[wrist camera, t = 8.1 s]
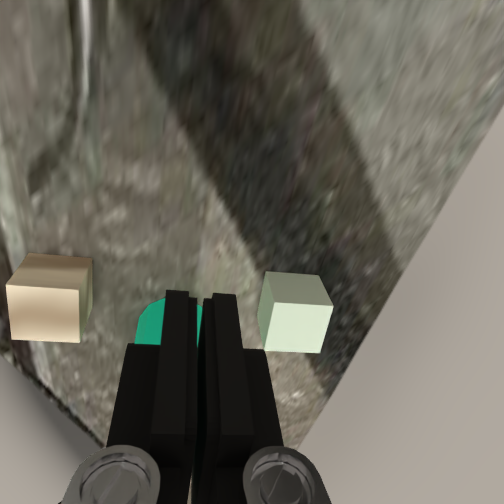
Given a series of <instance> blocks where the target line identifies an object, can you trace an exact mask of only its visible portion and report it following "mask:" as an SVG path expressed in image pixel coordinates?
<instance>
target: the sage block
mask: <svg viewBox="0 0 504 504" xmlns="http://www.w3.org/2000/svg"><path fill="white" fill-rule="evenodd" d="M332 310H333V304H332V302H331V300H330V298H329V296H328V294H327V292H326V290H325V288H324V286H323V284H322V282H321V279H320V277H319V275H308V274H295V273H282V272H269V271H266V272H265V277H264V283H263V288H262V293H261V298H260V303H259V308H258V313H257V319H258V324H259V329H260V333H261V338H262V343H263V348H264V351H285V352H308V353H320V350H321V347H322V344H323V340H324V337H325V333H326V330H327V327H328V323H329V320H330V316H331V313H332Z"/></svg>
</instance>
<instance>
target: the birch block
mask: <svg viewBox="0 0 504 504" xmlns="http://www.w3.org/2000/svg"><path fill="white" fill-rule="evenodd" d="M6 291H7V300H8V309H9V318H10V327H11V336H12V339H16V340H36V341H55V342H75V343H80V340H81V338H82V335H83V332H84V329H85V326H86V324H87V321H88V318H89V315H90V313H91V310H92V307H93V287H92V258H84V257H72V256H60V255H48V254H37V253H28V255H27V256H26V257H25V259H24V260H23V262H22V263H21V264H20V266H19V267H18V269H17V270H16V271H15V273H14V274H13V276H12V277H11V278H10V280H9V281H8V282H7V284H6Z"/></svg>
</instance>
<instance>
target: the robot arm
mask: <svg viewBox="0 0 504 504" xmlns="http://www.w3.org/2000/svg"><path fill="white" fill-rule="evenodd" d="M191 473H192V483H191V504H332V503H331V501H330V498H329V496H328V493H327V491H326V489H325V486H324V484H323V481H322V479H321V477H320V475H319V473H318V471H317V470H316V468H315V466H314V465H313V464H312V462H310V460H309V459H308V458H307V457H306V456H304V455H303V454H301V453H299V452H298V451H296V450H294V449H291V448H288V447H284V444H283V439H282V434H281V429H280V424H279V419H278V414H277V408H276V403H275V398H274V393H273V388H272V383H271V378H270V373H269V368H268V363H267V357H266V354H265V351H264V350H263V349H244V348H243V345H242V338H241V330H240V323H239V315H238V308H237V300H236V295H235V294H222V293H213V295H212V299H208V298H204V301H203V308H202V316H201V324H200V331H199V339H198V347H197V298H193V297H189V291H177V290H166V297H165V306H164V315H163V324H162V334H161V343H160V345H156V344H134V343H128V345H127V348H126V353H125V357H124V362H123V367H122V372H121V377H120V382H119V387H118V392H117V397H116V401H115V406H114V411H113V416H112V421H111V426H110V431H109V436H108V440H107V445H106V448H103V449H101V450H99V451H97V452H95V453H94V454H92V455H90V456H89V457H88V458H87V459H86V460H85V461H84V462H82V463H81V464H80V465H79V467H78V468H77V470H76V472H75V473H74V475H73V477H72V479H71V481H70V483H69V486H68V488H67V491H66V493H65V495H64V497H63V500H62V501H61V502H60V503H58V504H187V500H188V493H189V486H190V480H191Z"/></svg>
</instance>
